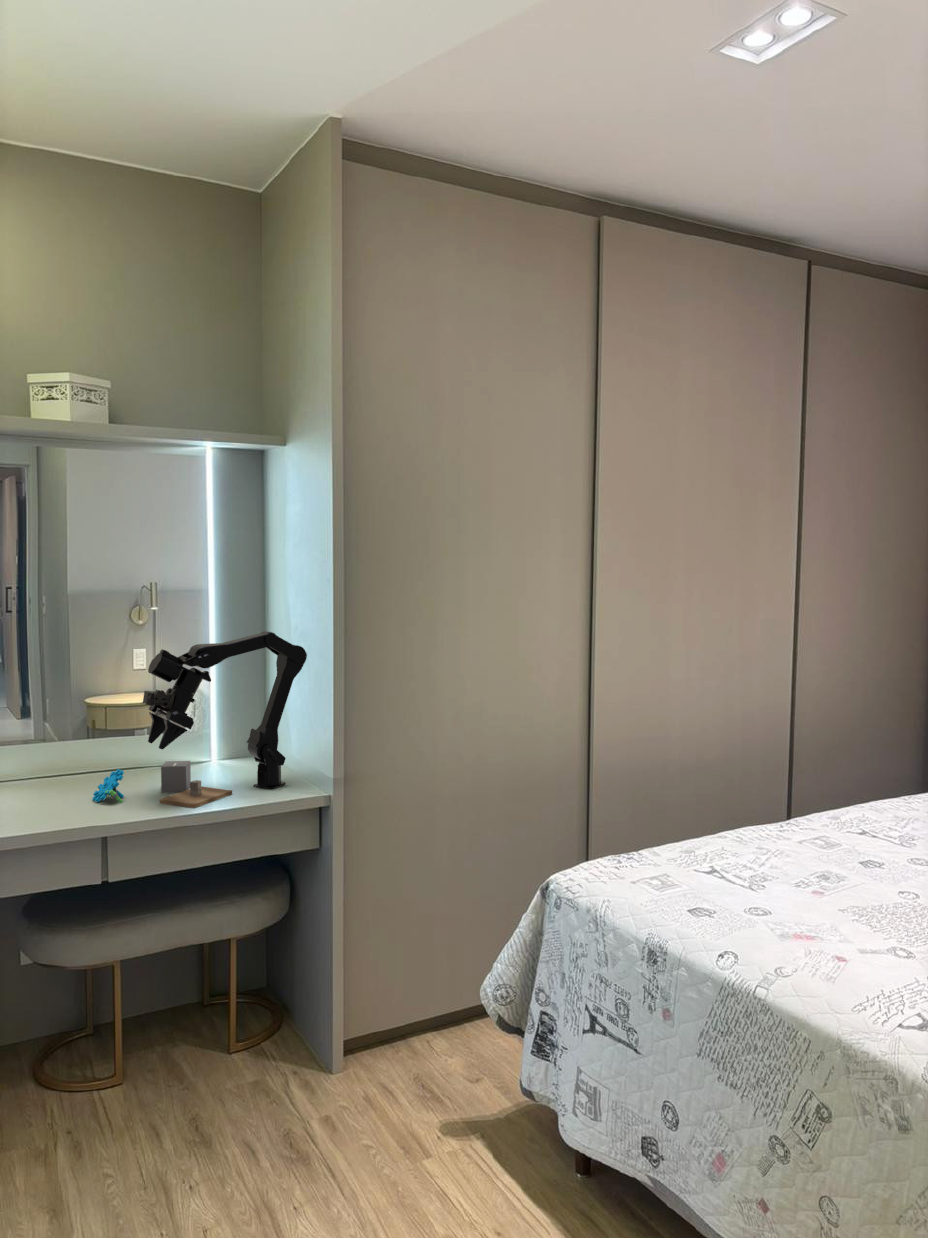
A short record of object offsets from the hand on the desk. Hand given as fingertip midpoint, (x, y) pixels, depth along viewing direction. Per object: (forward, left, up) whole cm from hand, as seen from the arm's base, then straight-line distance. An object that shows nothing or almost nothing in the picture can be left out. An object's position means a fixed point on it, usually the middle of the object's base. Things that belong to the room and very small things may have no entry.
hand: (155, 745), depth 243 cm
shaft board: (-7, +7, -15) cm, 18 cm away
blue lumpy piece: (+4, -12, -15) cm, 19 cm away
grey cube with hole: (-12, -4, -15) cm, 19 cm away
